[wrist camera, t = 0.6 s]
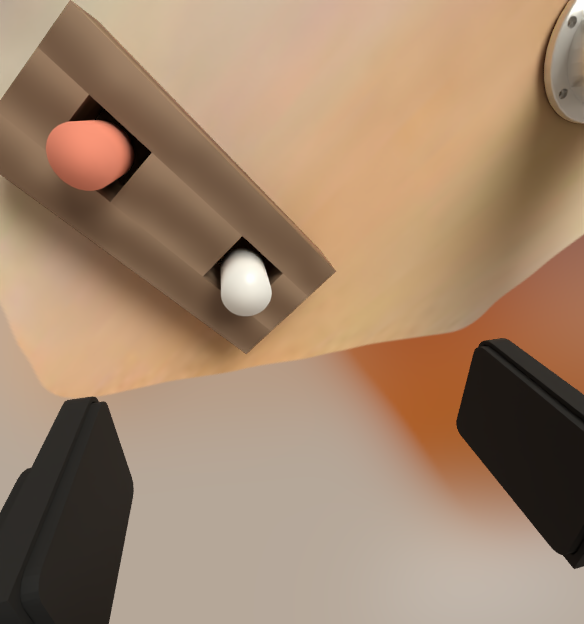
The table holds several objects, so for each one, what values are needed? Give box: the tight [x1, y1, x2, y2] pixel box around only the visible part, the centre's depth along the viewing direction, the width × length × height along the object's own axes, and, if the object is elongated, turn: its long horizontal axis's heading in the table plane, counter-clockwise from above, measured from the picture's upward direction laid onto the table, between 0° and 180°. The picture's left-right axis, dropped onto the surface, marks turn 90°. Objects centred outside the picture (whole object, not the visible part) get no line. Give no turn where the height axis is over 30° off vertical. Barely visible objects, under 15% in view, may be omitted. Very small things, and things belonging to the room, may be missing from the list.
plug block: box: [0, 0, 336, 354], centre depth 32 cm, size 12×26×6 cm, turn 43°
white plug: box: [221, 248, 272, 316], centre depth 32 cm, size 4×4×6 cm
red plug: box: [46, 120, 134, 191], centre depth 25 cm, size 4×4×6 cm
